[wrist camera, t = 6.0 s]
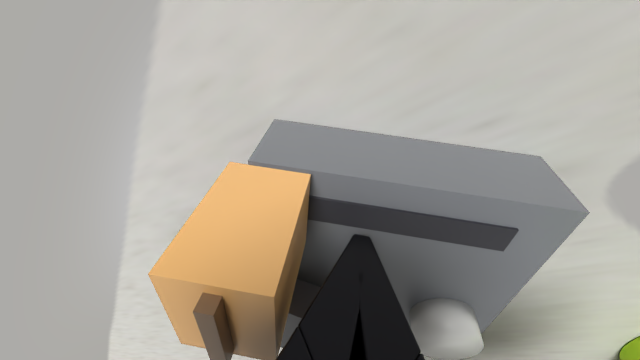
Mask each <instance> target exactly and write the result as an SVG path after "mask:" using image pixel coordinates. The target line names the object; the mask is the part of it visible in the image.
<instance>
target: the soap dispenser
mask: <svg viewBox="0 0 640 360" xmlns="http://www.w3.org/2000/svg"><path fill="white" fill-rule="evenodd" d="M619 357H620V360H640V337H639V338H636V339H634V340H633V341H631V342H629V343H628V344H627V345H625V346H624V347H623V348H622V350H621V351H620V354H619Z"/></svg>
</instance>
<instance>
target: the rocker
mask: <svg viewBox="0 0 640 360" xmlns="http://www.w3.org/2000/svg"><path fill="white" fill-rule="evenodd" d="M320 288H321V287H319V286H316V285H313V284H310V283H307V282H305V281H302V280H299V279H296V284H295V288H294V292H293V296H292V300H291V304H290V308H289V312H288V316H287V320H286V325H285V329H284V333H283V337H282V341H281V345H280V347H282V348H284V346H285V345H286V343H287V342H288V340H289V338H290V337H291V335H292V334H293V332H294V330H295V329H296V327H298V324H299V323H300V321H301V319H302V318H303V316H304V314H305V313H306V311H307V309H308V308H309V306H310V305H311V303H312V301H313V300H314V298H315V296H316V295H317V293H318V291H319V290H320Z"/></svg>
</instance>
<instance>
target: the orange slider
mask: <svg viewBox="0 0 640 360" xmlns="http://www.w3.org/2000/svg"><path fill="white" fill-rule="evenodd" d="M310 179H311V174H306V173H299V172H293V171H286V170H280V169H273V168H267V167H260V166H253V165H247V164H240V163H234V162H229V164H228V165H227V166H226V168H225V169H224V171H223V172H222V173H221V175H220V176H219V177H218V179H217V180H216V181H215V183H214V184H213V186H212V187H211V188H210V190H209V191H208V192H207V194H206V195H205V197H204V198H203V199H202V201H201V202H200V203H199V205H198V206H197V208H196V209H195V210H194V212H193V213H192V214H191V216H190V217H189V219H188V220H187V221H186V223H185V224H184V225H183V227H182V228H181V230H180V231H179V232H178V234H177V235H176V236H175V238H174V239H173V241H172V242H171V243H170V245H169V246H168V247H167V249H166V250H165V252H164V253H163V254H162V256H161V257H160V258H159V260H158V261H157V263H156V264H155V265H154V267H153V268H152V269H151V271H150V272H149V274H148V275H149V277H150V279H151V281H152V283H153V285H154V288H155V290H156V292H157V294H158V296H159V298H160V300H161V302H162V304H163V306H164V309H165V311H166V313H167V315H168V317H169V319H170V321H171V323H172V325H173V327H174V330H175V332H176V334H177V336H178V338H179V340H180V342H181V344H186V345H191V346H196V347H201V348H206V350H207V352H208V355H209V358H210V360H231V358H232V355H233V354H236V355H241V356H246V357H251V358H256V359H261V360H276V358H277V357H278V353H279V349H280V345H281V341H282V337H283V333H284V329H285V325H286V320H287V316H288V312H289V308H290V304H291V300H292V296H293V292H294V288H295V284H296V279H297V275H298V271H299V267H300V263H301V259H302V255H303V251H304V247H305V243H306V233H307V219H308V206H309V192H310Z"/></svg>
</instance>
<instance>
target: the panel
mask: <svg viewBox="0 0 640 360" xmlns="http://www.w3.org/2000/svg"><path fill="white" fill-rule="evenodd" d="M248 165H253V166H260V167H267V168H273V169H280V170H286V171H293V172H299V173H306V174H311V179H310V192H309V206H308V219H307V233H306V243H305V247H304V251H303V255H302V259H301V263H300V267H299V271H298V275H297V279H299V280H302V281H305V282H307V283H310V284H313V285H316V286H319V287H322V285H323V283H324V282H325V280H326V278H327V277H328V275H329V273H330V272H331V270H332V269H333V267H334V265H335V264H336V262H337V260H338V259H339V257H340V256H341V254H342V252H343V251H344V249H345V247H346V246H347V244H348V242H349V241H350V239H351V238H352V236H353V235H354V234H359V235H364V236H369V237H370V238H371V240H372V242H373V244H374V247H375V249H376V251H377V253H378V256H379V258H380V260H381V262H382V265H383V267H384V269H385V271H386V274H387V276H388V278H389V280H390V283H391V285H392V287H393V289H394V292H395V294H396V296H397V298H398V301H399V303H400V305H401V307H402V310H403V312H404V314H405V316H406V319H407V321H408V323H409V325H410V327H411V330H412V332H413V334H414V336H415V339H416V341H417V343H418V345H419V348H420V350H421V354H423V355H425V356H428V357H431V358H435V359H440V360H461V359H467V358H470V357H473V356H475V355H477V354H479V353H480V352H481V351H482V350H483V348H484V343H483V340H482V336H481V333H482V332H483V331H484V330H485V329H486V328H487V327H488V326H489V325H490V323H491V322H492V321H493V320H494V319H495V318H496V317H497V316H498V314H499V313H500V312H501V311H502V310H503V309H504V308H505V307H506V306H507V304H508V303H509V302H510V301H511V300H512V299H513V298H514V297H515V295H516V294H517V293H518V292H519V291H520V290H521V289H522V288H523V287H524V285H525V284H526V283H527V282H528V281H529V280H530V279H531V278H532V276H533V275H534V274H535V273H536V272H537V271H538V270H539V269H540V267H541V266H542V265H543V264H544V263H545V262H546V261H547V260H548V259H549V257H550V256H551V255H552V254H553V253H554V252H555V251H556V250H557V248H558V247H559V246H560V245H561V244H562V243H563V242H564V241H565V240H566V238H567V237H568V236H569V235H570V234H571V233H572V232H573V231H574V229H575V228H576V227H577V226H578V225H579V224H580V223H581V222H582V221H583V219H584V218H585V217H586V216H587V215H588V214H589V213H590V212H589V211H588V210H587V209H586V208H585V207H584V206H583V204H582V203H581V202H580V201H579V200H578V199H577V198H576V196H575V195H574V194H573V193H572V192H571V191H570V190H569V188H568V187H567V186H566V185H565V184H564V183H563V182H562V180H561V179H560V178H559V177H558V176H557V175H556V174H555V172H554V171H553V170H552V169H551V168H550V167H549V166H548V164H547V163H546V162H545V161H544V160H543V159H542V157H539V156H532V155H525V154H518V153H511V152H504V151H496V150H489V149H482V148H475V147H468V146H461V145H454V144H447V143H440V142H432V141H425V140H418V139H411V138H404V137H397V136H390V135H383V134H376V133H368V132H361V131H354V130H347V129H340V128H333V127H326V126H319V125H311V124H304V123H297V122H290V121H283V120H276V119H274V121H273V123H272V124H271V126H270V127H269V129H268V130H267V132H266V134H265V135H264V137H263V138H262V140H261V141H260V143H259V144H258V146H257V148H256V149H255V151H254V152H253V154H252V155H251V157H250V159H249V160H248Z"/></svg>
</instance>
